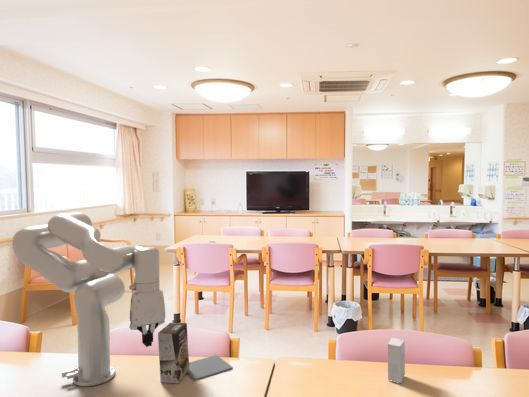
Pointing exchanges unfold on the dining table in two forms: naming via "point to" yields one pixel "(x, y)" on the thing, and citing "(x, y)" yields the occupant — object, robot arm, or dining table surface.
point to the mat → (207, 367)
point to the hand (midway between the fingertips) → (147, 344)
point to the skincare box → (396, 360)
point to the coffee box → (173, 352)
